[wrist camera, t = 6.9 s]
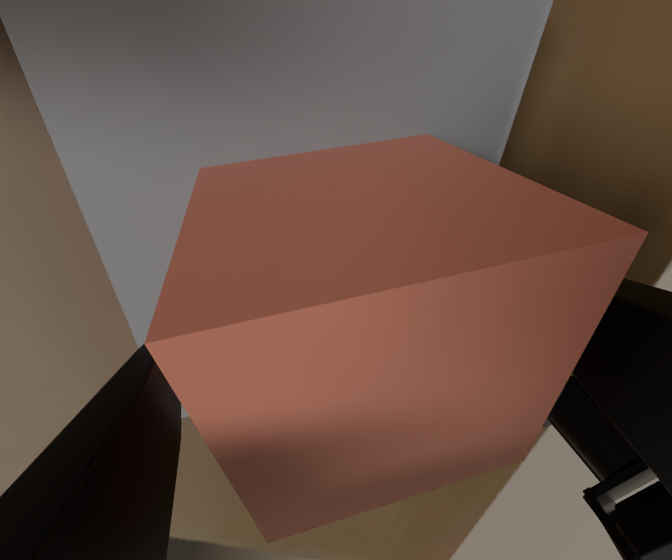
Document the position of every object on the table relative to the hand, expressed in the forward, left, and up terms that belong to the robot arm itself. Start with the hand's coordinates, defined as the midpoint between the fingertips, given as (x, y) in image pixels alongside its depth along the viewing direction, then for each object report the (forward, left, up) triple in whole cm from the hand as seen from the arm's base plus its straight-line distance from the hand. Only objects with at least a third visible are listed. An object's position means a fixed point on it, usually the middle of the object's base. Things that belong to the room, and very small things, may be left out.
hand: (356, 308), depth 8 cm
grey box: (0, +1, -7) cm, 7 cm away
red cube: (0, 0, -3) cm, 3 cm away
